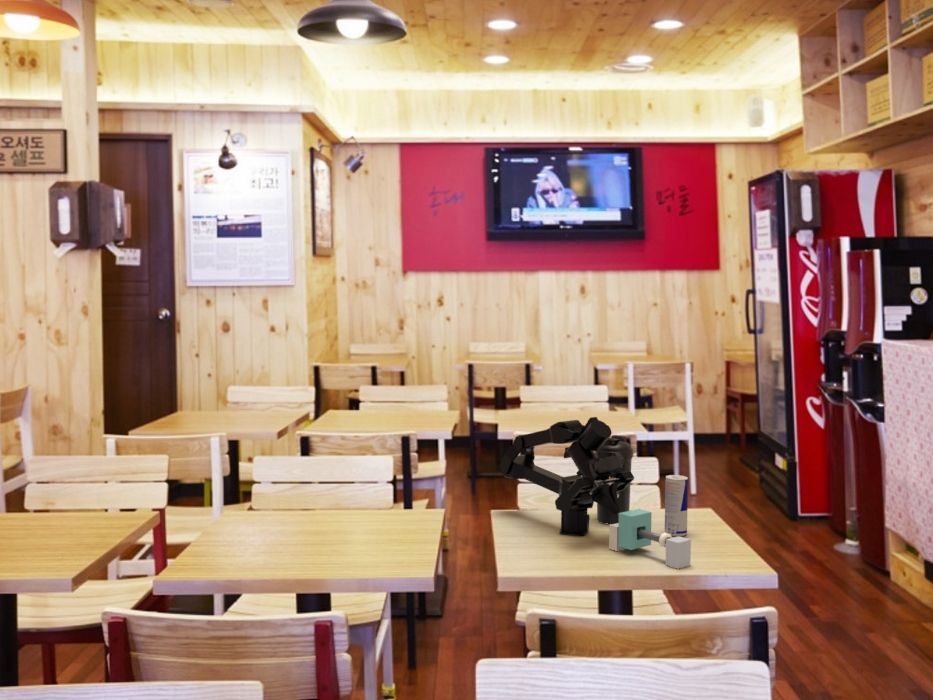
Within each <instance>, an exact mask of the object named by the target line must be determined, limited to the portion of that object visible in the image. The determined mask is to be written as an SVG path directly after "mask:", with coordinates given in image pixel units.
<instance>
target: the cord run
mask: <svg viewBox="0 0 933 700" xmlns="http://www.w3.org/2000/svg"><path fill="white" fill-rule="evenodd" d="M618 534H619V523H616V524H611V525H609V534H608V537H609V540H608V541H609V542H608V545H609V547H608V549H609V550H610V549H612V550H611V551H613V550H615V551H614V552H616V551H618V552H620V551H619V550H622V551H624V550H623V549H626V548H623V547H620V546H618ZM637 536H640V537H643V538H646V539H650V540H651V541H654V542H657V543H658V544H659V545H660V547H663V548H665V566H666V565H668V566H667V567H669V566H670V567H671V568H673V569H676V568H677V569H676V570H679V568H680V569H683V568H687V567H690V566H691V558H692V557H691V555H692V551H691V550H692V549H691V548H692V540H691V539H690V538H686V537H684V536H678V537H675V536H671V535H670V534H668V533H665V532H662V533H657V532H653V531H651V532H650V531H646V530H643V529H639V528H637ZM626 550H627V549H626Z"/></svg>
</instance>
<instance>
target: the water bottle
mask: <svg viewBox="0 0 933 700" xmlns="http://www.w3.org/2000/svg"><path fill="white" fill-rule="evenodd" d="M627 440H628V439H627V436H624V435H620V434H619V435H617V434H614V435H613V434H611V436H610V437H609V438H608V439H607V441H606V442H605V443H604V444H603V445H602V447H601V448H600V449H599V450H597V451H594V453H595V454H596V456H597V458H603V459H604V458H606V457H611V455H613V454H615V453H620V454H621V455H622V456H623V458H624V461H625V463H624V465H622V468H621V469H619V468H618V469H616V470H614V471H613V474H612V475H611V476H609V479H612V478H613V477H614V476H615V475H616V473H617V472H622V471H631V472H632V459H633V457H634V449H633V448H632V446H631V445H630V443H628V442H627ZM631 483H632V482H631ZM631 483H630V484H629V485H628V486H627V487H626V488H625V489H624V490H623V491H620V492H617V498H618V503H619V508H620V513H622V512H626V511H630V505H631V504H630V502H631ZM596 508H597V510H596V512H597V513H596V514H597V516H596V517H597V518H596V519H597V520H598V521H599V522H598V521H597V522H598V523H600V522H602V523H601V524H603V523H608V524H616V523H619V514H618V515H615V514H614V513H612V512H611V511H609V510H608V509H606V508H605V507H603V506H601V505H600V504H598V503H596ZM608 524H607V525H608Z"/></svg>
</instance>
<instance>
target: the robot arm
mask: <svg viewBox="0 0 933 700" xmlns="http://www.w3.org/2000/svg"><path fill="white" fill-rule="evenodd" d="M611 437H612V429H611V427H610V425H608V424H607V423H605V422H604V421H602V420H599V419H598V417H597V416H593V417H589V418H588V420H587V422H586V423H585V424H582V422H581V421H580V420H578V419H572V420H564V421H558V422H555V423H554V424H551V425H550V427H549V428H547V429H544V430H539V431H535V432H530V433H527V434H526V433H524V434H518V435H517V436H515V437H514V439H513V443H512V444H510V445H511V446H509V448H508V449H507V450H506V451H505V452H504V454H503V457H502V459H501V461H500V464H499V465H500V466H499V467H500V468H499V469H500V472H501V474H502V476H504V478H507V479H511V480H526V481H528V482H530V483H533V484H535V485H537V486H539V487H541V488H543V489H546V490H548V491H551V492H552V493H555V494H558V497H557V498H556V499H555V501H554V505H555V509H556V510H558V511H560V521H561V522H560V530H559V532H558V533H559V535H570V536H579V537H584V536H585V535H587V533H588V532H589V531H590V514H588V509H592V508H593V507H594V503H596V504H597V503H598V504H600V505H601V506H603V507H605V508H606V509H608V510H609V511H611V512H612V513H614V514H615V515H618V514H619V513H620V508H619V503H618V498H617V492H620V491H623V490H624V489H625V488H626V487H627V486H628V485H629V484H630V483H632V482H633V481H634V480H635V476H634V475H633V473H632V470H631V471H622V472H617V473H616V475H615V476H614V477H613V478H612V479H609V476H611V475H612V474H613V471H614V470H616V469H618V468H619V469H621V468H622V465H624V463H625V461H624V458H623V456H622V455H621V454H620V453H615V454H613V455H611V457H606V458H604V459H603V458H597V456H596V454H595V451H597V450H599V449H600V448H601V447H602V445H603V444H604V443H605V442H606V441H607V439H608V438H611ZM549 444H555V445H557V444H559V445H563V444H570V445H569V447H568V446H566V447H565V448H564V453H563V459H570V458H571V460H572V462H573V463H574V465H575V467H576V468H577V472H576V474H574V475H569V476H562V475H559V474H557V473H554V472H552V471H550V470H547V469H545V468H543V467H540V466H538V465H535V461H534V460H535V457H536V456H535V451H534V449H535V447H539V446H544V445H549ZM522 450H523V451H524V450H526V451H525V453H524V454H521V452H522ZM630 485H631V484H630Z"/></svg>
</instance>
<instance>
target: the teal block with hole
mask: <svg viewBox="0 0 933 700" xmlns="http://www.w3.org/2000/svg"><path fill="white" fill-rule="evenodd" d="M637 528H639V529H643V530H646V531H650V532H652V511H649V510H645V509H641V508H637V509H632V510H629V511H626V512H622V513H619V534H618V546H620V547H623V548H626V550H629V551H632V550H636V549H640V548H645V547H648V546H651V545H652V540H650V539H646V538H643V537H640V536H637Z"/></svg>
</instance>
